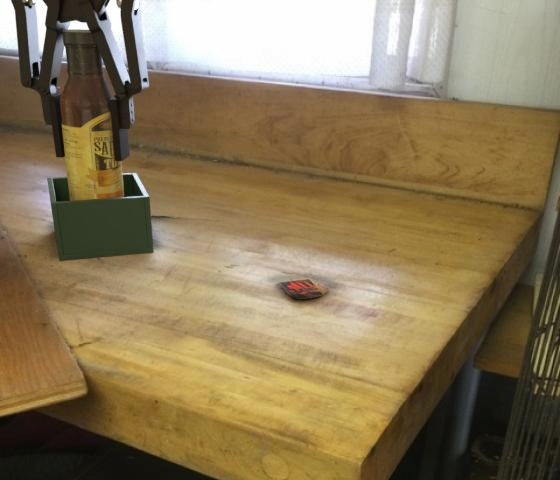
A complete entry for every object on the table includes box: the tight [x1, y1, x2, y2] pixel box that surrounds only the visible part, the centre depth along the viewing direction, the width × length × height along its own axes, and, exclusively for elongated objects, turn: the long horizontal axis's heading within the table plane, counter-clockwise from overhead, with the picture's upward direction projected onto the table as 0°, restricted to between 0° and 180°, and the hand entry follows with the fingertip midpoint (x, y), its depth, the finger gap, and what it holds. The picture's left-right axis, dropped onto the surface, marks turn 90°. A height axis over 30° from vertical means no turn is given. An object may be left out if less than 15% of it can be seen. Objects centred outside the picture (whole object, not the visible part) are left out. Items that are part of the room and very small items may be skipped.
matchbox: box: [275, 277, 329, 301], centre depth 73 cm, size 5×5×1 cm
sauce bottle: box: [60, 29, 124, 201], centre depth 78 cm, size 7×6×20 cm
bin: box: [46, 172, 154, 261], centre depth 83 cm, size 11×11×7 cm
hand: (93, 156), depth 80 cm, fingers closed on sauce bottle, 6 cm apart
